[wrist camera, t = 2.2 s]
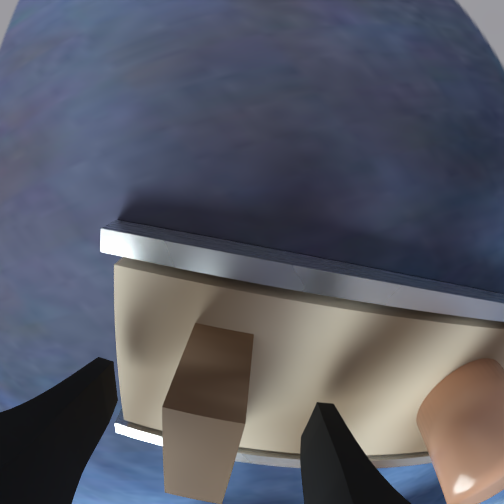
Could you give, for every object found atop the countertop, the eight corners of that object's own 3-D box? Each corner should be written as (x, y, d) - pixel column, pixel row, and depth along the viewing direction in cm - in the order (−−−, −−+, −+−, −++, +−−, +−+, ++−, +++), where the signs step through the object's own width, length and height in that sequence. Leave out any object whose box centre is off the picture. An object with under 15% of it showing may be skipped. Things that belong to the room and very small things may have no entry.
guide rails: (523, 298, 11) (537, 309, 10) (434, 447, 14) (439, 461, 13) (116, 219, 11) (100, 228, 9) (124, 416, 14) (116, 432, 13)
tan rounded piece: (517, 358, 11) (568, 422, 6) (469, 430, 12) (501, 495, 7) (448, 357, 11) (503, 444, 6) (398, 436, 12) (424, 519, 7)
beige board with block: (530, 323, 11) (585, 377, 6) (461, 434, 14) (489, 493, 9) (126, 254, 11) (46, 324, 6) (130, 405, 14) (94, 483, 9)
